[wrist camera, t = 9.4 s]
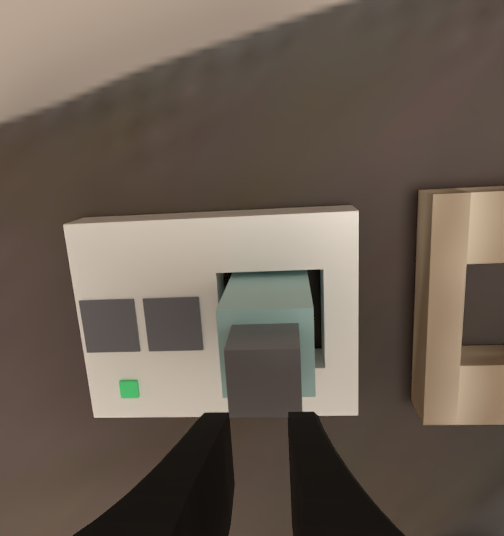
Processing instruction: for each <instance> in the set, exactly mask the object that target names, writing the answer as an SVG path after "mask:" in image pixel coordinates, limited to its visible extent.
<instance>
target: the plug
mask: <svg viewBox="0 0 504 536" xmlns="http://www.w3.org/2000/svg"><path fill="white" fill-rule="evenodd" d="M216 321H217V333H218V346H219V358H220V370H221V383H222V395H223V398H227V399H228V411H229V418H288V412H302V397H316V388H315V346H314V308H313V302H312V296H311V290H310V284H309V279H308V273H307V270H287V271H259V272H232V275H231V277H230V279H229V282H228V284H227V286H226V288H225V291H224V293H223V295H222V298H221V300H220V302H219V305H218V307H217V309H216Z"/></svg>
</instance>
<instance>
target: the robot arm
mask: <svg viewBox="0 0 504 536" xmlns="http://www.w3.org/2000/svg"><path fill="white" fill-rule="evenodd" d="M288 436H289V460H290V484H291V509H292V528H293V536H405V535H404V534H403V533H402V532H401V531H400V530H399V529H398V528H397V527H396V526H395V525H394V524H393V523H392V522H391V521H390V519H389V518H388V517H387V516H386V515H385V514H384V513H383V512H382V511H381V510H380V509H379V507H378V506H377V505H376V504H375V503H374V502H373V500H372V499H371V498H370V497H369V496H368V494H367V493H366V492H365V491H364V489H363V488H362V487H361V485H360V484H359V483H358V482H357V480H356V479H355V478H354V476H353V475H352V473H351V472H350V471H349V469H348V468H347V466H346V465H345V463H344V462H343V460H342V459H341V457H340V456H339V454H338V453H337V451H336V450H335V448H334V446H333V445H332V443H331V441H330V439H329V438H328V436H327V434H326V432H325V430H324V428H323V426H322V424H321V422H320V419H319V416H318V415H317V414H316V413H315V412H288ZM234 484H235V483H234V470H233V457H232V444H231V431H230V418H229V412H209V413H204V414H203V415H202V416H201V417H200V418H199V419H198V420H197V421H196V422H195V424H194V425H193V426H192V427H191V428H190V429H189V431H188V432H187V433H186V434H185V435H184V436H183V438H182V439H181V440H180V441H179V442H178V443H177V444H176V445H175V447H174V448H173V449H172V450H171V451H170V452H169V453H168V454H167V455H166V456H165V457H164V458H163V459H162V461H161V462H160V463H159V464H158V465H157V466H156V467H155V468H154V469H153V470H152V471H151V472H150V473H149V474H148V475H147V476H146V477H145V478H144V479H142V480H141V481H140V482H139V483H138V484H137V485H136V486H135V487H134V488H133V489H132V490H131V491H130V492H129V493H128V494H127V495H125V496H124V497H123V498H122V499H121V500H119V501H118V502H117V503H116V504H115V505H113V506H112V507H111V508H110V509H108V510H107V511H106V512H105V513H103V514H102V515H101V516H100V517H98V518H97V519H96V520H94V521H93V522H92V523H90V524H89V525H87V526H86V527H84V528H83V529H81V530H80V531H79V532H77V533H76V534H74V535H73V536H228V535H229V530H230V525H231V516H232V506H233V495H234Z"/></svg>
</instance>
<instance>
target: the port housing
mask: <svg viewBox="0 0 504 536" xmlns="http://www.w3.org/2000/svg"><path fill="white" fill-rule="evenodd" d="M63 228H64V234H65V240H66V246H67V253H68V259H69V265H70V271H71V277H72V284H73V290H74V296H75V302H76V308H77V315H78V321H79V327H80V333H81V340H82V346H83V352H84V358H85V364H86V371H87V377H88V383H89V389H90V395H91V402H92V408H93V414H94V418H122V417H201V416H202V415H203V414H204V413H209V412H229V411H228V399H227V398H223V395H222V383H221V370H220V358H219V346H218V333H217V321H216V309H217V307H218V305H219V302H220V300H221V298H222V295H223V293H224V291H225V288H224V275H223V273H231V272H259V271H287V270H315V269H320V289H321V341H322V349H315V388H316V397H302V412H315V413H316V414H317V415H318V416H358V272H359V211H358V210H357V209H356V208H355V207H353V206H352V205H338V206H317V207H296V208H274V209H253V210H232V211H211V212H189V213H168V214H147V215H126V216H104V217H84V218H81V219H78V220H75V221H72V222H69V223H66V224H63Z"/></svg>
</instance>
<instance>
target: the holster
mask: <svg viewBox="0 0 504 536" xmlns="http://www.w3.org/2000/svg"><path fill="white" fill-rule="evenodd" d="M485 263H504V186H488V187H467V188H447V189H427V190H418V217H417V246H416V275H415V304H414V333H413V361H412V390H411V401H412V403H413V405H414V407H415V409H416V411H417V413H418V415H419V418H420V420H421V422H422V424H423V425H504V345H469V346H461V345H462V329H463V313H464V298H465V282H466V266H467V264H485Z"/></svg>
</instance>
